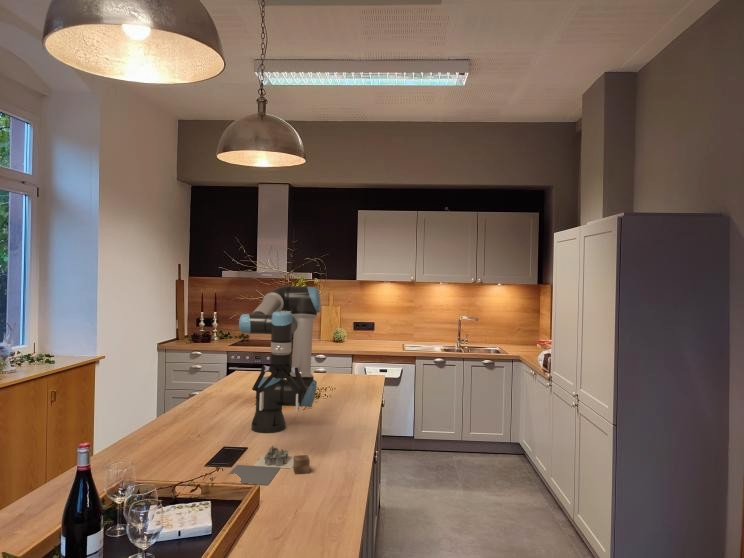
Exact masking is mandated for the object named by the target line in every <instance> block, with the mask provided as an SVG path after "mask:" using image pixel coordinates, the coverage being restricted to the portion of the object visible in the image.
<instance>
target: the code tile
mask: <svg viewBox="0 0 744 558" xmlns="http://www.w3.org/2000/svg"><path fill="white" fill-rule="evenodd" d="M265 455H266V454H262V456H260V458H258V460H257V461H256V462H255V463H254V464H253V466H265V467H281V468H280V469H291V470H292V469H293V465H294V456H289V455H288V458H287V459H286V461H285V462H283V465H279V466H277V465H266V464H265V459H264V458H265Z"/></svg>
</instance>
